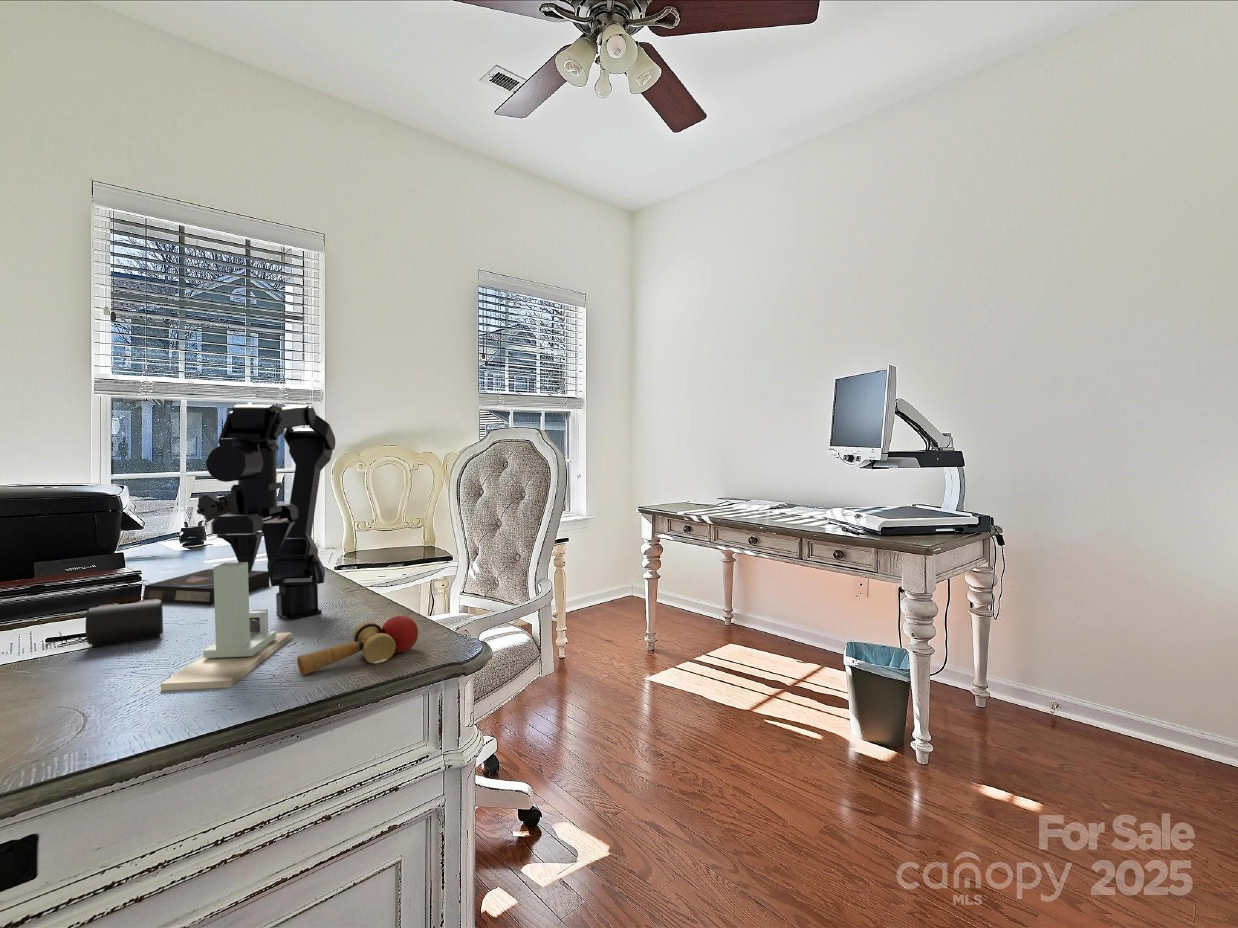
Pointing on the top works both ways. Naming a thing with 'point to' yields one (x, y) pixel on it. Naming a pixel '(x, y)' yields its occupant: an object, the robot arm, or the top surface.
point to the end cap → (124, 622)
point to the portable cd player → (196, 587)
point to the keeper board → (223, 666)
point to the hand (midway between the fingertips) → (259, 567)
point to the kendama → (366, 644)
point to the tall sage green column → (235, 615)
